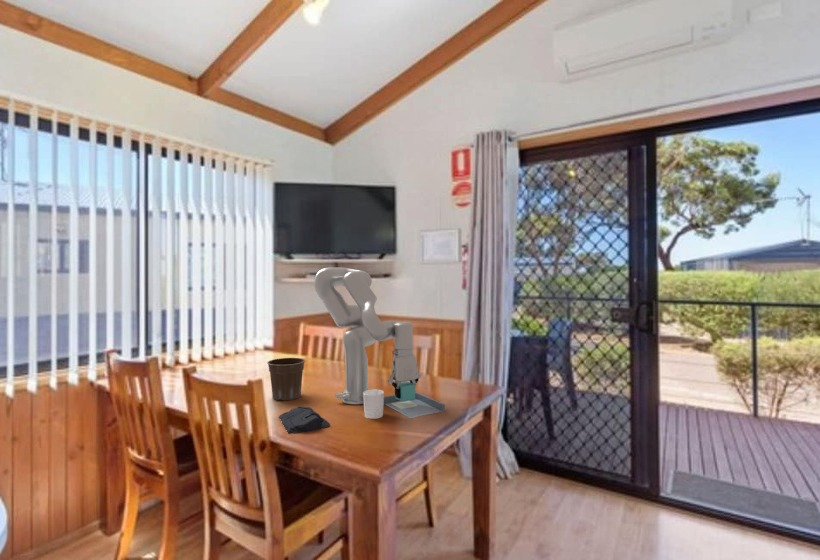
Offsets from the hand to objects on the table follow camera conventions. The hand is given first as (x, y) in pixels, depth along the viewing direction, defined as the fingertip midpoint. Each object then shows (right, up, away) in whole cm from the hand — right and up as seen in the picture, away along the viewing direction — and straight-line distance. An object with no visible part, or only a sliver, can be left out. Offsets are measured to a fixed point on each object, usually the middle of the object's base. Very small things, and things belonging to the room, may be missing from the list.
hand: (405, 395), depth 182 cm
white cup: (-12, -5, -12) cm, 18 cm away
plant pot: (-53, -5, +16) cm, 55 cm away
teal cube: (0, -1, 0) cm, 1 cm away
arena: (+3, -5, -2) cm, 6 cm away
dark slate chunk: (-38, -6, -16) cm, 41 cm away
